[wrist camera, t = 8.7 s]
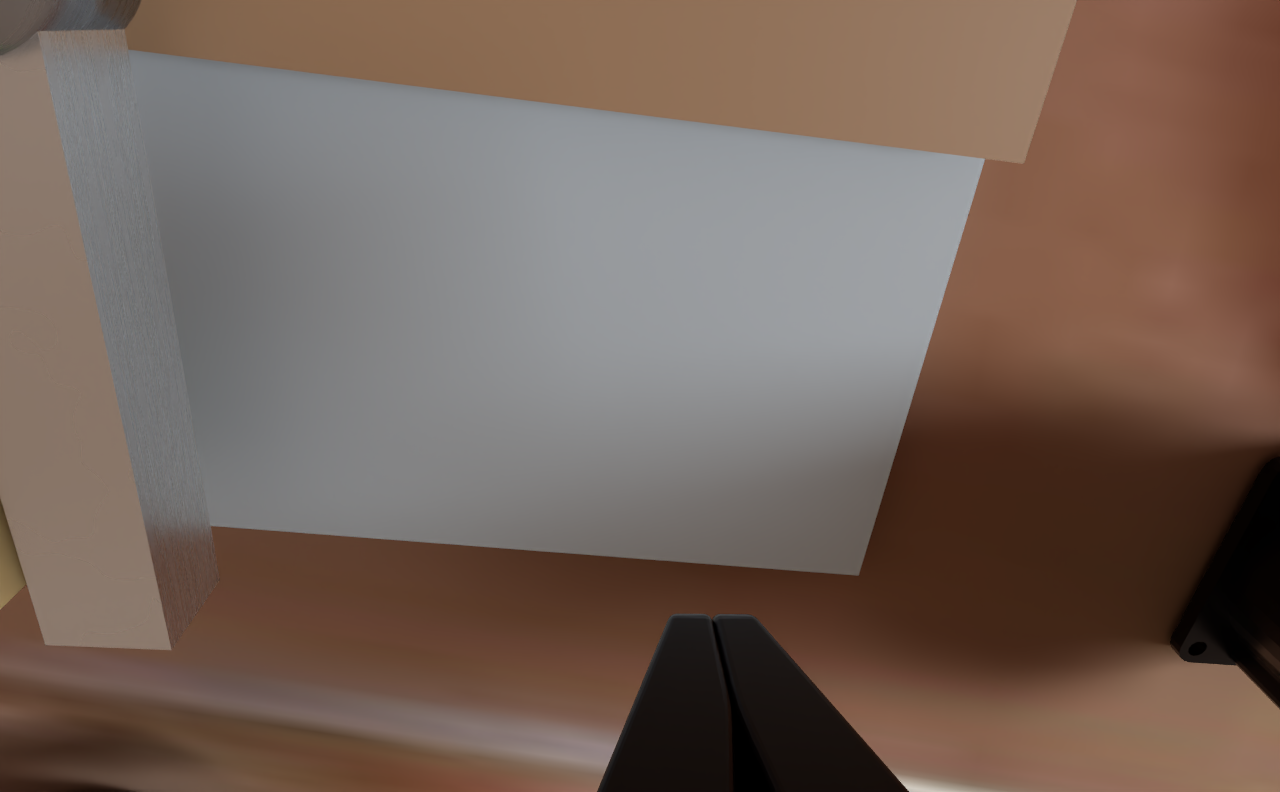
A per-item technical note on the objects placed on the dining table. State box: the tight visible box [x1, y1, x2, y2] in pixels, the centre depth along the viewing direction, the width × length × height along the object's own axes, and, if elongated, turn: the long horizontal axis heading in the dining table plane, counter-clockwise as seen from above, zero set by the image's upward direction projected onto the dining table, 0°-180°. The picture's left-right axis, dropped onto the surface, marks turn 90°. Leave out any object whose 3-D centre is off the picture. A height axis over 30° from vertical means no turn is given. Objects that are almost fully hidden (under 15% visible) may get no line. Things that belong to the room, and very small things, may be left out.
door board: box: [0, 0, 1077, 609], centre depth 14 cm, size 16×20×6 cm
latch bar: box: [0, 0, 220, 650], centre depth 12 cm, size 13×3×2 cm, turn 175°
